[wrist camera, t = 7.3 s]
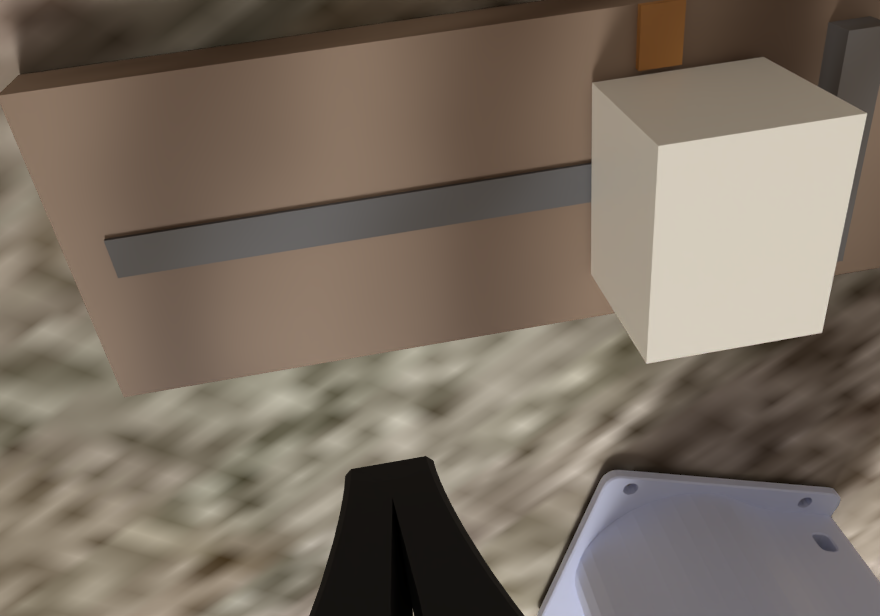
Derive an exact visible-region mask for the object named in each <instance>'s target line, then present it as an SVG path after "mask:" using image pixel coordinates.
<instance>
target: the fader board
mask: <svg viewBox="0 0 880 616" xmlns="http://www.w3.org/2000/svg"><path fill="white" fill-rule="evenodd" d="M759 57H765V58H767V59H768V60H770V61H772V62H774V63H776V64H778V65H779V66H781V67H783V68H785V69H787V70H789V71H791V72H792V73H794V74H796V75H798V76H800V77H802V78H803V79H805V80H807V81H809V82H811V83H813V84H814V85H816V86H818V87H820V88H822V89H824V90H825V91H827V92H829V93H831V94H833V95H835V96H836V97H838V98H840V99H842V100H844V101H846V102H847V103H849V104H851V105H853V106H855V107H857V108H858V109H860V110H862V111H864V112H866V113H867V117H866V122H865V126H864V131H863V136H862V141H861V146H860V151H859V156H858V161H857V165H856V170H855V175H854V180H853V185H852V190H851V195H850V199H849V204H848V209H847V214H846V219H845V224H844V229H843V233H842V238H841V243H840V248H839V253H838V258H837V263H836V267H835V272H834V275H840V274H846V273H852V272H857V271H863V270H869V269H875V268H880V0H542V1H535V2H528V3H521V4H514V5H507V6H500V7H493V8H486V9H479V10H471V11H464V12H457V13H450V14H443V15H436V16H429V17H422V18H415V19H408V20H401V21H394V22H387V23H380V24H373V25H366V26H359V27H352V28H345V29H338V30H331V31H324V32H317V33H310V34H303V35H296V36H289V37H282V38H275V39H268V40H260V41H253V42H246V43H239V44H232V45H225V46H218V47H211V48H204V49H197V50H190V51H183V52H176V53H169V54H162V55H155V56H148V57H141V58H134V59H127V60H120V61H113V62H106V63H99V64H92V65H85V66H78V67H71V68H64V69H57V70H49V71H42V72H35V73H28V74H21V75H18V76H17V77H16V78H15V79H14V80H13V81H12V82H11V83H10V84H9V85H8V86H7V87H6V88H5V89H4V90H3V91H2V92H1V93H0V104H1V107H2V109H3V111H4V114H5V116H6V119H7V121H8V123H9V126H10V128H11V130H12V133H13V135H14V137H15V140H16V142H17V145H18V147H19V149H20V152H21V154H22V156H23V159H24V161H25V164H26V166H27V168H28V171H29V173H30V175H31V178H32V180H33V183H34V185H35V187H36V190H37V192H38V194H39V197H40V199H41V202H42V204H43V206H44V209H45V211H46V213H47V216H48V218H49V221H50V223H51V225H52V228H53V230H54V232H55V235H56V237H57V239H58V242H59V244H60V247H61V249H62V251H63V254H64V256H65V258H66V261H67V263H68V266H69V268H70V270H71V273H72V275H73V277H74V280H75V282H76V285H77V287H78V289H79V292H80V294H81V296H82V299H83V301H84V304H85V306H86V308H87V311H88V313H89V315H90V318H91V320H92V322H93V325H94V327H95V330H96V332H97V334H98V337H99V339H100V341H101V344H102V346H103V349H104V351H105V353H106V356H107V358H108V360H109V363H110V365H111V368H112V370H113V372H114V375H115V377H116V379H117V382H118V384H119V387H120V389H121V391H122V394H123V396H124V397H127V396H133V395H139V394H145V393H151V392H157V391H163V390H168V389H174V388H180V387H186V386H192V385H198V384H203V383H209V382H215V381H221V380H227V379H233V378H238V377H244V376H250V375H256V374H262V373H268V372H273V371H279V370H285V369H291V368H297V367H303V366H309V365H314V364H320V363H326V362H332V361H338V360H344V359H349V358H355V357H361V356H367V355H373V354H379V353H384V352H390V351H396V350H402V349H408V348H414V347H419V346H425V345H431V344H437V343H443V342H449V341H455V340H460V339H466V338H472V337H478V336H484V335H490V334H495V333H501V332H507V331H513V330H519V329H525V328H530V327H536V326H542V325H548V324H554V323H560V322H565V321H571V320H577V319H583V318H589V317H595V316H600V315H606V314H612V313H615V312H614V310H613V309H612V307H611V306H610V304H609V302H608V301H607V299H606V298H605V296H604V294H603V293H602V291H601V289H600V288H599V286H598V285H597V283H596V281H595V280H594V278H593V277H592V275H591V174H592V83H593V82H599V81H606V80H613V79H619V78H626V77H633V76H639V75H646V74H653V73H659V72H666V71H673V70H679V69H686V68H693V67H699V66H706V65H713V64H719V63H726V62H733V61H739V60H746V59H753V58H759Z"/></svg>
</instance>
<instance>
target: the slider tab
mask: <svg viewBox="0 0 880 616" xmlns="http://www.w3.org/2000/svg"><path fill="white" fill-rule="evenodd" d="M866 117H867V113H866V112H864V111H862V110H860V109H858V108H857V107H855V106H853V105H851V104H849V103H847V102H846V101H844V100H842V99H840V98H838V97H836V96H835V95H833V94H831V93H829V92H827V91H825V90H824V89H822V88H820V87H818V86H816V85H814V84H813V83H811V82H809V81H807V80H805V79H803V78H802V77H800V76H798V75H796V74H794V73H792V72H791V71H789V70H787V69H785V68H783V67H781V66H779V65H778V64H776V63H774V62H772V61H770V60H768V59H767V58H765V57H759V58H753V59H746V60H739V61H733V62H726V63H719V64H713V65H706V66H699V67H693V68H686V69H679V70H673V71H666V72H659V73H653V74H646V75H639V76H633V77H626V78H619V79H613V80H606V81H599V82H593V83H592V174H591V275H592V277H593V278H594V280H595V281H596V283H597V285H598V286H599V288H600V289H601V291H602V293H603V294H604V296H605V298H606V299H607V301H608V302H609V304H610V306H611V307H612V309H613V310H614V312H615V314H616V315H617V317H618V319H619V320H620V322H621V323H622V325H623V327H624V328H625V330H626V331H627V333H628V335H629V336H630V338H631V340H632V341H633V343H634V344H635V346H636V348H637V349H638V351H639V353H640V354H641V356H642V357H643V359H644V361H645V362H646V364H648V363H653V362H659V361H665V360H670V359H676V358H682V357H687V356H693V355H699V354H704V353H710V352H716V351H721V350H727V349H733V348H738V347H744V346H750V345H755V344H761V343H767V342H772V341H778V340H784V339H789V338H795V337H801V336H806V335H812V334H818V333H822V331H823V326H824V321H825V316H826V311H827V306H828V301H829V297H830V292H831V287H832V282H833V277H834V272H835V267H836V263H837V258H838V253H839V248H840V243H841V238H842V233H843V229H844V224H845V219H846V214H847V209H848V204H849V199H850V195H851V190H852V185H853V180H854V175H855V170H856V165H857V161H858V156H859V151H860V146H861V141H862V136H863V131H864V126H865V122H866Z"/></svg>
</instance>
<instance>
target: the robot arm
mask: <svg viewBox="0 0 880 616" xmlns="http://www.w3.org/2000/svg"><path fill="white" fill-rule="evenodd" d="M628 484H630V485H628ZM626 485H628V486H626ZM840 501H841V499H840V496H839V495H838V493H837V492H836V491H835V490H834V489H833V488H829V487H818V486H806V485H794V484H782V483H770V482H758V481H746V480H734V479H723V478H711V477H699V476H687V475H675V474H663V473H651V472H639V471H628V470H612V471H610V472H608V473H606V474H605V475H604V476H603V477H602V478H601V480H600V482H599V484H598V486H597V488H596V490H595V493H594V495H593V497H592V499H591V501H590V503H589V505H588V507H587V509H586V512H585V514H584V516H583V518H582V520H581V522H580V524H579V526H578V529H577V531H576V533H575V535H574V537H573V539H572V541H571V543H570V546H569V548H568V550H567V552H566V554H565V556H564V558H563V560H562V563H561V565H560V567H559V569H558V571H557V573H556V575H555V577H554V580H553V582H552V584H551V586H550V588H549V590H548V592H547V594H546V597H545V599H544V601H543V603H542V605H541V607H540V609H539V611H538V615H537V616H880V582H879V580H878V579H877V578H876V576H875V575H874V574H873V572H872V571H871V570H870V568H869V567H868V566H867V564H866V563H865V562H864V560H863V559H862V558H861V556H860V555H859V554H858V552H857V551H856V550H855V548H854V547H853V546H852V544H851V543H850V541H849V540H848V539H847V537H846V536H845V535H844V533H843V532H842V531H841V529H840V528H839V527H838V525H837V524H836V523H835V521H834V520H833V519H832V517H831V515H832V514H833V512H834V511H835V510H836V508H837V507H838V505H839V503H840ZM412 608H413V609H412ZM413 612H414V616H524V615H523V613H522V612H521V611H520V609H519V608H518V607H517V605H516V604H515V603H514V601H513V600H512V599H511V597H510V596H509V595H508V593H507V592H506V591H505V589H504V588H503V586H502V585H501V584H500V582H499V581H498V579H497V578H496V577H495V575H494V574H493V572H492V571H491V569H490V568H489V566H488V565H487V563H486V562H485V560H484V559H483V557H482V556H481V554H480V553H479V551H478V549H477V548H476V546H475V545H474V543H473V541H472V540H471V538H470V537H469V535H468V533H467V532H466V530H465V528H464V527H463V525H462V523H461V521H460V520H459V518H458V516H457V514H456V512H455V510H454V508H453V507H452V505H451V503H450V501H449V499H448V497H447V495H446V493H445V491H444V488H443V486H442V484H441V482H440V479H439V476H438V474H437V471H436V468H435V465H434V461H433V460H431V459H430V458H428V457H426V456H424V457H419V458H413V459H407V460H401V461H396V462H390V463H384V464H378V465H373V466H367V467H361V468H355V469H351V470H350V471H349V472H348V473H347V474H346V476H345V487H344V494H343V500H342V506H341V511H340V516H339V520H338V525H337V529H336V533H335V537H334V541H333V545H332V548H331V551H330V555H329V558H328V561H327V565H326V568H325V572H324V575H323V578H322V582H321V585H320V588H319V591H318V593H317V596H316V599H315V602H314V604H313V607H312V610H311V613H310V615H309V616H413Z"/></svg>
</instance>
